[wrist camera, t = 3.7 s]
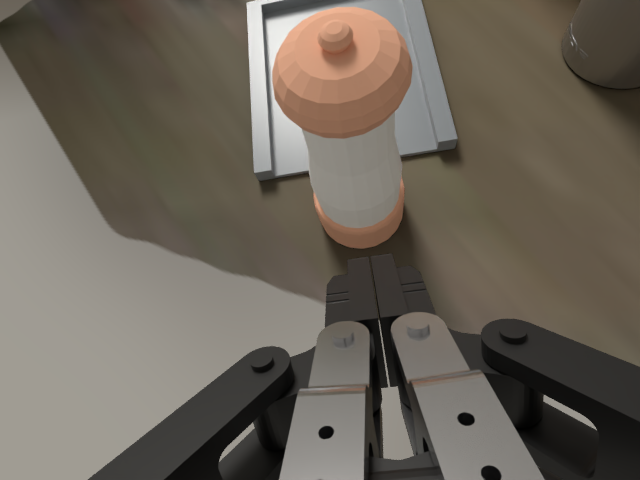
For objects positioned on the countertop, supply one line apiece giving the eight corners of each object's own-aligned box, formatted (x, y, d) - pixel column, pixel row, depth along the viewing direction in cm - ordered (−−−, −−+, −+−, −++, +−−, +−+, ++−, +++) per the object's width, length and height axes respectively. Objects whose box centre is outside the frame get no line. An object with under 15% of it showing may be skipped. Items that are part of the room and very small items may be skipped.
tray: (411, -20, 44) (412, -34, 43) (455, 148, 36) (457, 138, 35) (251, 14, 46) (246, 2, 45) (258, 181, 38) (254, 173, 37)
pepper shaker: (353, 265, 34) (315, 126, 16) (303, 205, 37) (225, 29, 19) (421, 214, 35) (456, 26, 17) (367, 158, 37) (349, -55, 20)
